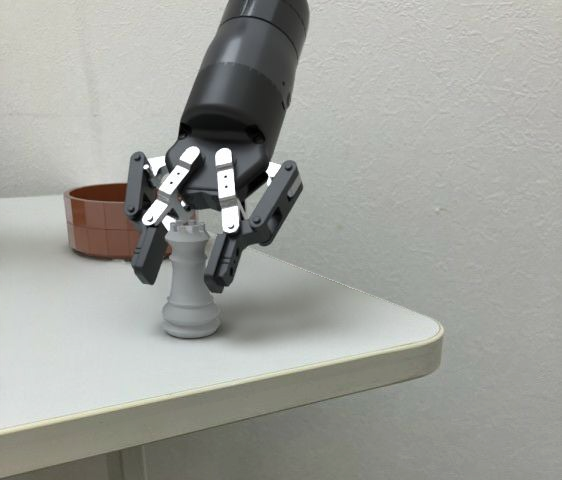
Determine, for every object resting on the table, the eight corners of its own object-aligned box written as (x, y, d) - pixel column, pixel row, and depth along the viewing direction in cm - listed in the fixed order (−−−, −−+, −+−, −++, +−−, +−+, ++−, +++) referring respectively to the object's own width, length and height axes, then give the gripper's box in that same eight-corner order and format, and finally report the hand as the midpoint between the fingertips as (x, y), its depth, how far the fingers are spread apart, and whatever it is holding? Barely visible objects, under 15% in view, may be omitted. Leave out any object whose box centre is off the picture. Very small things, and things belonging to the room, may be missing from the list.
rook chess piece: (230, 323, 51) (228, 220, 48) (205, 343, 48) (201, 231, 44) (179, 316, 53) (174, 215, 49) (150, 334, 49) (143, 226, 46)
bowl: (42, 254, 70) (34, 196, 68) (115, 228, 83) (111, 179, 80) (160, 267, 66) (156, 206, 64) (219, 239, 78) (217, 187, 76)
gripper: (142, 58, 51) (64, 245, 46) (319, 59, 47) (257, 266, 41) (177, 127, 58) (113, 297, 52) (335, 134, 54) (284, 320, 48)
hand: (177, 282), depth 47 cm, fingers open, 5 cm apart
